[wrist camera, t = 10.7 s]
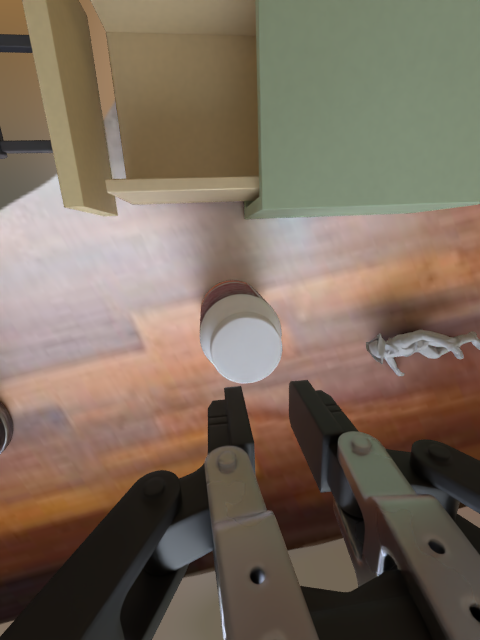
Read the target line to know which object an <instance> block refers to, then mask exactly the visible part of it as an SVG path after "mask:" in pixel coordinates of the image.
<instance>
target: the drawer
mask: <svg viewBox="0 0 480 640" xmlns="http://www.w3.org/2000/svg"><path fill="white" fill-rule="evenodd" d="M22 1H23V6H24V12H25V17H26V22H27V26H28V31H29V35H8V34H0V52H20V53H33V56H34V61H35V66H36V71H37V76H38V80H39V86H40V90H41V95H42V100H43V105H44V110H45V115H46V120H47V125H48V130H49V135H50V139H51V140H42V141H41V140H34V141H4V140H3V136H2V132H1V129H0V159H3V158H7V153H53V154H54V159H55V164H56V169H57V174H58V179H59V184H60V189H61V194H62V199H63V204H64V207H65V208H70V209H74V210H79V211H83V212H87V213H92V214H96V215H101V216H118V214H117V207H116V201H115V196H116V197H118V198H120V199H122V200H124V201H126V202H129V203H130V204H132V205H139V204H171V203H204V202H236V201H255V200H256V199H257V198H259V151H258V103H257V54H256V5H255V0H91V2H92V4H93V6H94V9H95V10H96V13H97V15H98V17H99V19H100V21H101V23H102V25H103V27H104V29H105V31H106V37H107V43H108V51H109V58H110V65H111V72H112V79H113V86H114V93H115V101H116V108H117V115H118V122H119V129H120V136H121V143H122V150H123V157H124V164H125V171H126V179H112V175H111V168H110V162H109V155H108V149H107V142H106V136H105V129H104V123H103V116H102V110H101V104H100V97H99V91H98V84H97V78H96V71H95V65H94V59H93V52H92V46H91V39H90V32H89V26H88V20H87V15H86V13H85V11H84V9H83V8H82V6H81V4H80V2H79V0H22Z"/></svg>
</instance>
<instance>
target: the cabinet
mask: <svg viewBox="0 0 480 640" xmlns="http://www.w3.org/2000/svg"><path fill="white" fill-rule="evenodd" d="M255 5H256V54H257V103H258V151H259V198H257V199H256V200H255V201H244V215H245V219H264V218H291V217H318V216H345V215H372V214H400V213H416V212H424V211H432V210H439V209H447V208H455V207H463V206H470V205H478V204H480V0H255Z"/></svg>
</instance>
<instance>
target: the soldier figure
mask: <svg viewBox="0 0 480 640" xmlns="http://www.w3.org/2000/svg"><path fill="white" fill-rule="evenodd" d="M385 341H386V340H385ZM385 341H384V339H383V338H381V334H378V335H377V336H376V337H375V338H374V339H373V340H371V341H370V342H366V349H367V351H368V352H369V353H370V354H371V355H372V357H373V358H374V359H375V360H376V361H378V362H380V363H381V364H383V358H385V360H386V361H387V363H388V364H389V366H390V367H391V368H392V369H393V371H394V372H395V373H396V374H397V375H398V376H404V375H402V374H404V373H402V372H401V371H400V370H399V369H398V368H397V365H396V362H395V360H394V357H398V356H405V357H407V356H410V355H411V354H413V353H415V352H419V353H421V354H422V355H424V356H426V357H428V358H438V357H440V356H441V355H443V354H445V353H447V352H449V351H452V352H453V353H454V355H455V356H456V357H457V358H458V359H462V358H463V353H462V351H461V349H459V348H460V347H459V346H461V345H462V344H464V343H467V342H472V343H473V344H474V346H475V347H476V348H478V349H479V350H480V340H479V339H478V338H477V334H476V333H475V332H473V331H472V332H469V333H468V334H466V335H459V336H456V337H454V338H452V337H448V336H446V335H442V334H439V333H435V332H432V331H425V330H417V331H414V332H412V333H407V334H406V333H405V334H398V335H397V336H395V337H394V338H391V337H390V338H388V340H387V341H386V342H385ZM432 346H436V348H435V347H432Z"/></svg>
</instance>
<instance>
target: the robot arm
mask: <svg viewBox="0 0 480 640" xmlns="http://www.w3.org/2000/svg"><path fill="white" fill-rule="evenodd" d="M224 392H225V400H216V401H212V403H211V405H210V406H209V408H208V456H207V457H206V459H205V463H204V464H203V465H202V466H201V467H200V468H199V469H198V470H197V471H195V472H194V473H192V474H189V475H187V476H185V477H182V478H180V479H179V478H178V477H177V476H176V475H175V474H174V473H172V472H170V471H164V470H160V471H154V472H151V473H149V474H146V475H145V476H143V477H141V478H140V479H139V480H138V481H137V482H136V483H135V484H134V485H133V486H132V487H131V488H130V489H129V491H128V492H127V493H126V494H125V495H124V496H123V497H122V499H121V500H120V501H119V502H118V503H117V504H116V505H115V507H114V508H113V509H112V510H111V511H110V512H109V513H108V515H107V516H106V517H105V518H104V519H103V520H102V521H101V522H100V524H99V525H98V526H97V527H96V528H95V529H94V530H93V532H92V533H91V534H90V535H89V536H88V537H87V538H86V540H85V541H84V542H83V543H82V544H81V545H80V546H79V548H78V549H77V550H76V551H75V552H74V553H73V554H72V556H71V557H70V558H69V559H68V560H67V561H66V562H65V564H64V565H63V566H62V567H61V568H60V569H59V570H58V571H57V573H56V574H55V575H54V576H53V577H52V578H51V579H50V581H49V582H48V583H47V584H46V585H45V586H44V587H43V589H42V590H41V591H40V592H39V593H38V594H37V595H36V597H35V598H34V599H33V600H32V601H31V602H30V603H29V605H28V606H27V607H26V608H25V609H24V610H23V611H22V612H21V614H20V615H19V616H18V617H17V618H16V619H15V620H14V622H13V623H12V624H11V625H10V626H9V627H8V628H7V630H6V631H5V632H4V633H3V634H2V635H1V636H0V640H152V638H153V636H154V634H155V632H156V630H157V628H158V626H159V624H160V622H161V620H162V618H163V616H164V614H165V612H166V610H167V608H168V606H169V604H170V602H171V600H172V598H173V596H174V594H175V592H176V590H177V588H178V586H179V584H180V582H181V580H182V578H183V576H184V574H185V572H186V570H187V568H188V564H189V563H190V562H192V561H194V560H196V559H198V558H200V557H201V556H203V555H205V554H207V553H209V552H211V551H213V555H214V564H215V572H216V580H217V589H218V597H219V606H220V615H221V624H222V633H223V640H480V528H478V527H477V526H475V525H474V524H472V523H471V522H469V521H468V520H466V519H465V518H463V517H461V516H460V515H458V514H457V511H458V506H459V502H461V503H463V504H465V505H466V506H468V507H470V508H471V509H473V510H474V511H476V512H478V513H479V514H480V461H479V460H477V459H475V458H473V457H471V456H469V455H467V454H465V453H463V452H460V451H458V450H456V449H454V448H452V447H450V446H448V445H446V444H444V443H441V442H438V441H434V440H418V441H416V442H414V443H413V445H412V449H411V452H404V451H396V450H389V449H385V448H384V447H383V445H382V444H381V443H380V442H379V441H378V440H377V439H376V438H374V437H372V436H370V435H368V434H365V433H362V432H358V430H357V429H356V428H355V426H354V425H353V424H352V423H351V421H350V420H349V419H348V418H347V416H346V415H345V414H344V412H343V411H341V409H340V407H339V406H338V405H337V404H336V402H335V401H334V400H333V398H332V397H331V396H330V395H328V394H326V393H325V392H323V391H321V390H318V391H315V390H314V388H313V387H312V385H311V384H310V383H309V381H308V380H302V381H291V382H290V384H289V418H290V424H291V427H292V429H293V432H294V434H295V436H296V438H297V441H298V443H299V445H300V447H301V450H302V452H303V454H304V456H305V458H306V461H307V463H308V465H309V467H310V470H311V472H312V474H313V476H314V479H315V481H316V483H317V485H318V487H319V490H320V492H328V491H331V492H332V494H333V496H334V512H335V515H336V518H337V521H338V524H339V526H340V529H341V532H342V535H343V538H344V541H345V543H346V546H347V549H348V552H349V555H350V557H351V560H352V563H353V566H354V569H355V572H356V576H357V581H358V588H357V589H355V590H353V591H351V592H337V591H331V590H324V589H317V588H310V587H304V586H300V585H299V582H298V579H297V576H296V574H295V571H294V568H293V566H292V563H291V560H290V557H289V554H288V551H287V549H286V546H285V543H284V540H283V537H282V535H281V532H280V529H279V526H278V523H277V521H276V518H275V516H274V514H273V512H272V511H271V510H269V511H267V509H266V507H265V504H264V501H263V498H262V495H261V492H260V489H259V486H258V483H257V480H256V477H255V455H254V440H253V436H252V432H251V427H250V423H249V419H248V414H247V410H246V405H245V401H244V397H243V392H242V388H241V386H238V387H227V388H224ZM12 434H13V425H12V420H11V418H10V415H9V413H8V411H7V410H6V408H5V407H4V406H3V405H2V404H1V403H0V454H1V453H2V452H3V451H4V450H5V449H6V447H7V446H8V445H9V443H10V441H11V438H12Z"/></svg>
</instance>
